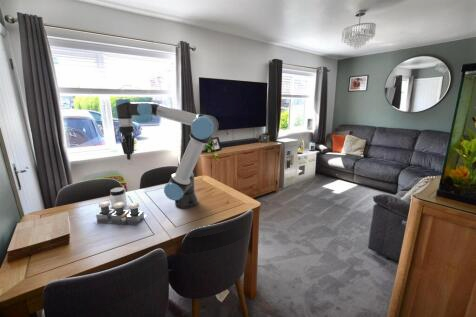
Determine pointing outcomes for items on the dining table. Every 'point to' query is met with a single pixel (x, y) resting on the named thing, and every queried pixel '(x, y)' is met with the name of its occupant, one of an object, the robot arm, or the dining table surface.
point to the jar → (117, 196)
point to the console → (119, 218)
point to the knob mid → (119, 208)
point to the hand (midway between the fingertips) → (130, 164)
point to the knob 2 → (134, 208)
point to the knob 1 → (104, 207)
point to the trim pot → (123, 218)
